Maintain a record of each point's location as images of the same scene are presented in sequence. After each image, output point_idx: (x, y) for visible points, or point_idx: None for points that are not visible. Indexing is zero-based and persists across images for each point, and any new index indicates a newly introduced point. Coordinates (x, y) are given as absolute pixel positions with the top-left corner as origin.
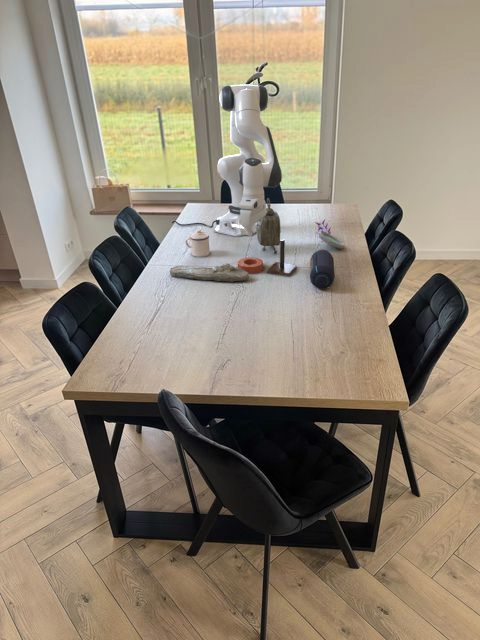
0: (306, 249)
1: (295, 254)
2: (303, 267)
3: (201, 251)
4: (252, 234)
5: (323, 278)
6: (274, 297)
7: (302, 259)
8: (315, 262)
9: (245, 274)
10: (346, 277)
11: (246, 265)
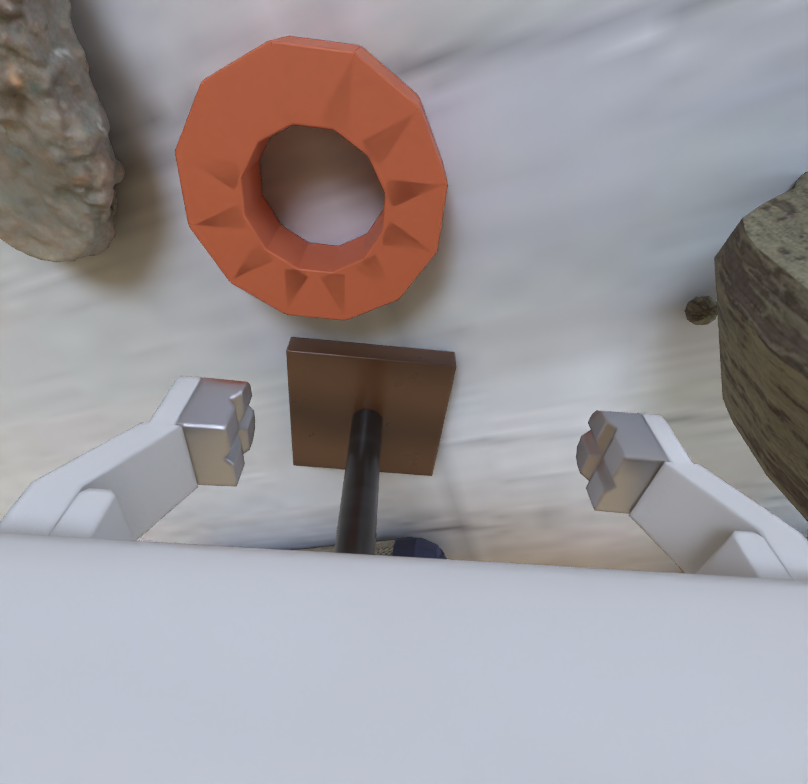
0: (755, 458)
1: (667, 421)
2: (450, 485)
3: None
4: (253, 429)
5: None
6: (3, 441)
7: (574, 465)
8: None
9: (36, 246)
10: None
11: (211, 196)
